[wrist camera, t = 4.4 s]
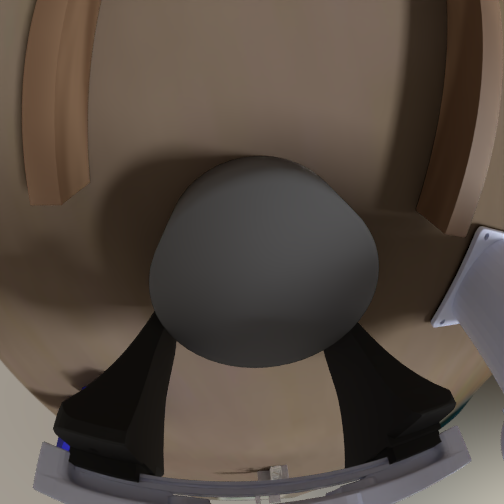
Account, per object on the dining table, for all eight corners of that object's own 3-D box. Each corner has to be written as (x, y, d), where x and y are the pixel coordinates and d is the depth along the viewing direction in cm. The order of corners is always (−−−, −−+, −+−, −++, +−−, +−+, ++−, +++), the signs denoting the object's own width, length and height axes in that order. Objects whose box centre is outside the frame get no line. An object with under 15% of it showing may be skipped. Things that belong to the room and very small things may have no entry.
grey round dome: (364, 171, 11) (408, 201, 8) (321, 314, 15) (338, 364, 12) (167, 149, 10) (139, 174, 7) (172, 308, 14) (162, 362, 11)
